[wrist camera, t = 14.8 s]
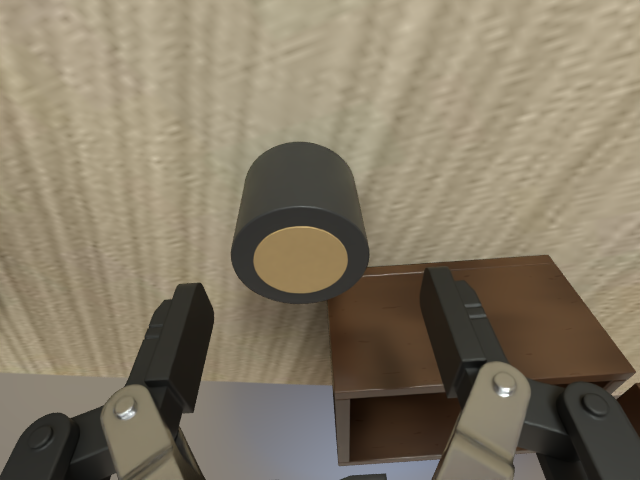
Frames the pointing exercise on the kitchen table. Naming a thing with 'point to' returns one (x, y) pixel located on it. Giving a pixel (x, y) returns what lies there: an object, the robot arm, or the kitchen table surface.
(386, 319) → the box
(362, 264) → the dark grey short cylinder
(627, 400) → the lid
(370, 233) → the kitchen table surface
